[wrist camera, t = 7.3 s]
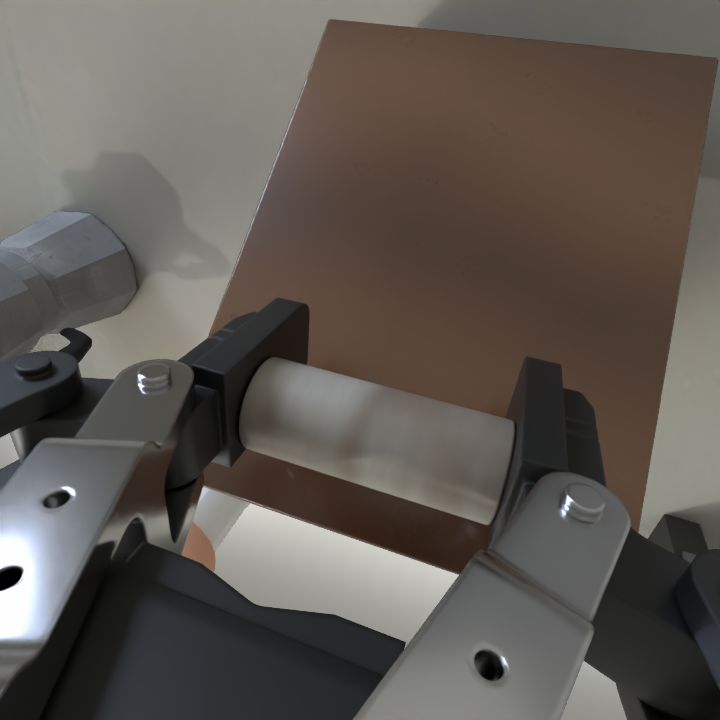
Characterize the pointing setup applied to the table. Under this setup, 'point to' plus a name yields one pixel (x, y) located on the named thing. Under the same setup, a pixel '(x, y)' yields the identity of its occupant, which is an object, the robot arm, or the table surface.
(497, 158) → the lid
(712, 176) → the table surface
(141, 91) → the table surface
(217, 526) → the pepper shaker
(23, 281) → the coffeepot
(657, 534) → the tall charcoal box
